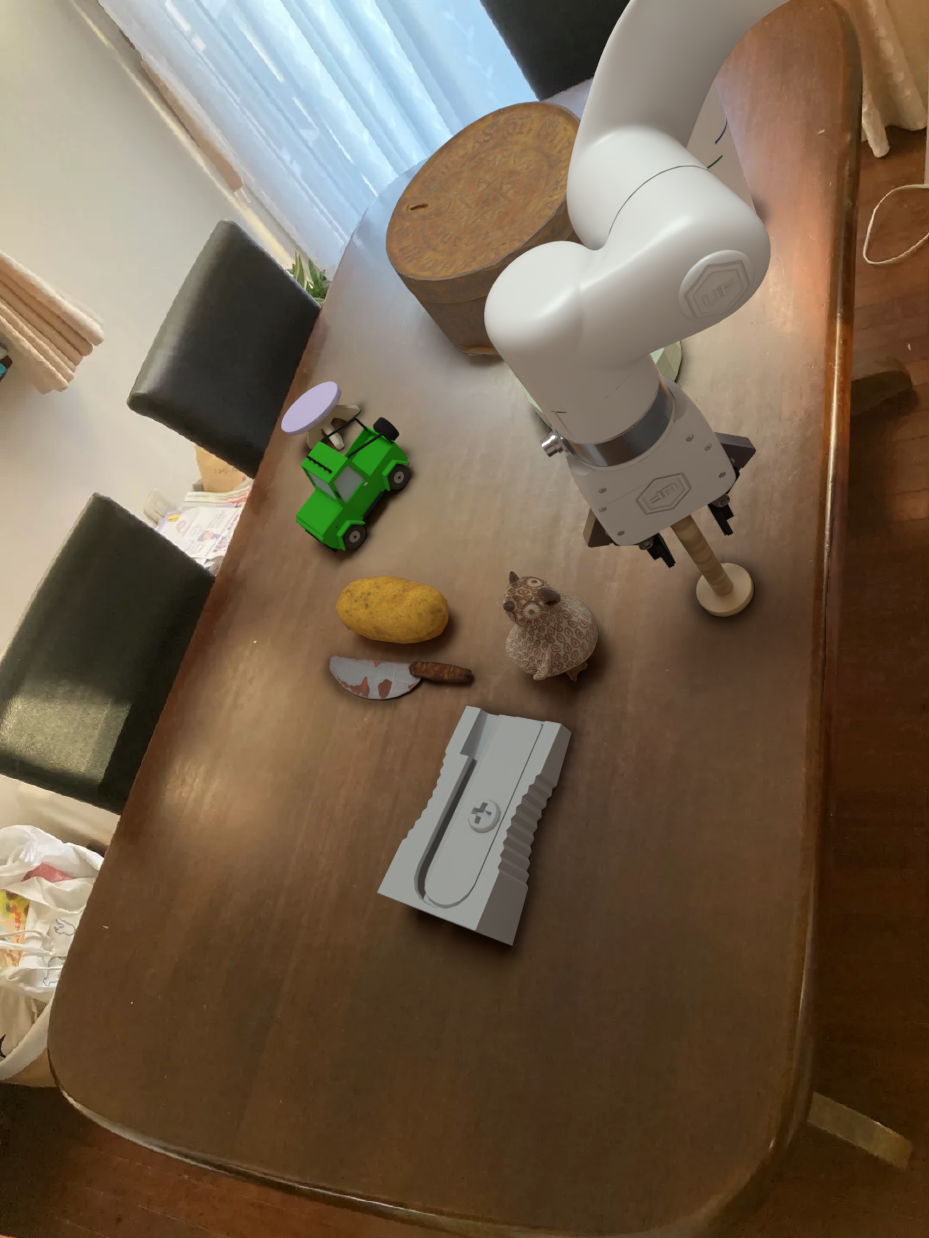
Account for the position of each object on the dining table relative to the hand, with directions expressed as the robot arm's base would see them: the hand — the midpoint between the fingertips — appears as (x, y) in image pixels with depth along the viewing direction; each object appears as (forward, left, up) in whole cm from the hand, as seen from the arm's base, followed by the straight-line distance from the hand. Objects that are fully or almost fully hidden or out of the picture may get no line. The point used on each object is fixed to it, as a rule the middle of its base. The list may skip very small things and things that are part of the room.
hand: (693, 537), depth 69 cm
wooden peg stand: (0, +1, -9) cm, 9 cm away
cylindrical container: (-19, -41, -10) cm, 46 cm away
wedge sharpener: (+29, +11, -10) cm, 32 cm away
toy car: (+33, -36, -10) cm, 50 cm away
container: (+2, -55, -10) cm, 56 cm away
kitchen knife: (+36, -9, -10) cm, 38 cm away
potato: (+32, -15, -10) cm, 37 cm away
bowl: (0, -31, -9) cm, 32 cm away
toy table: (+36, -52, -10) cm, 64 cm away
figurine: (+16, -1, -10) cm, 19 cm away
